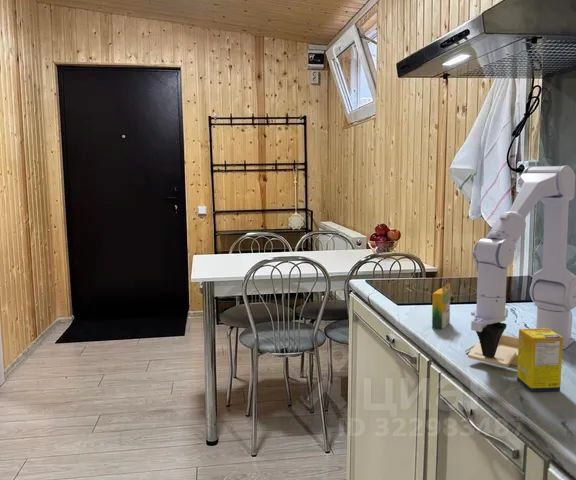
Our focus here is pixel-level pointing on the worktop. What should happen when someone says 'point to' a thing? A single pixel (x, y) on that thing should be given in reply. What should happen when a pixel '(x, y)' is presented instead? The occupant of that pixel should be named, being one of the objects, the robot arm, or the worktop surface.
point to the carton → (508, 346)
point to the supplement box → (539, 359)
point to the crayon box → (441, 308)
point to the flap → (500, 358)
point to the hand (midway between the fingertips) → (488, 355)
